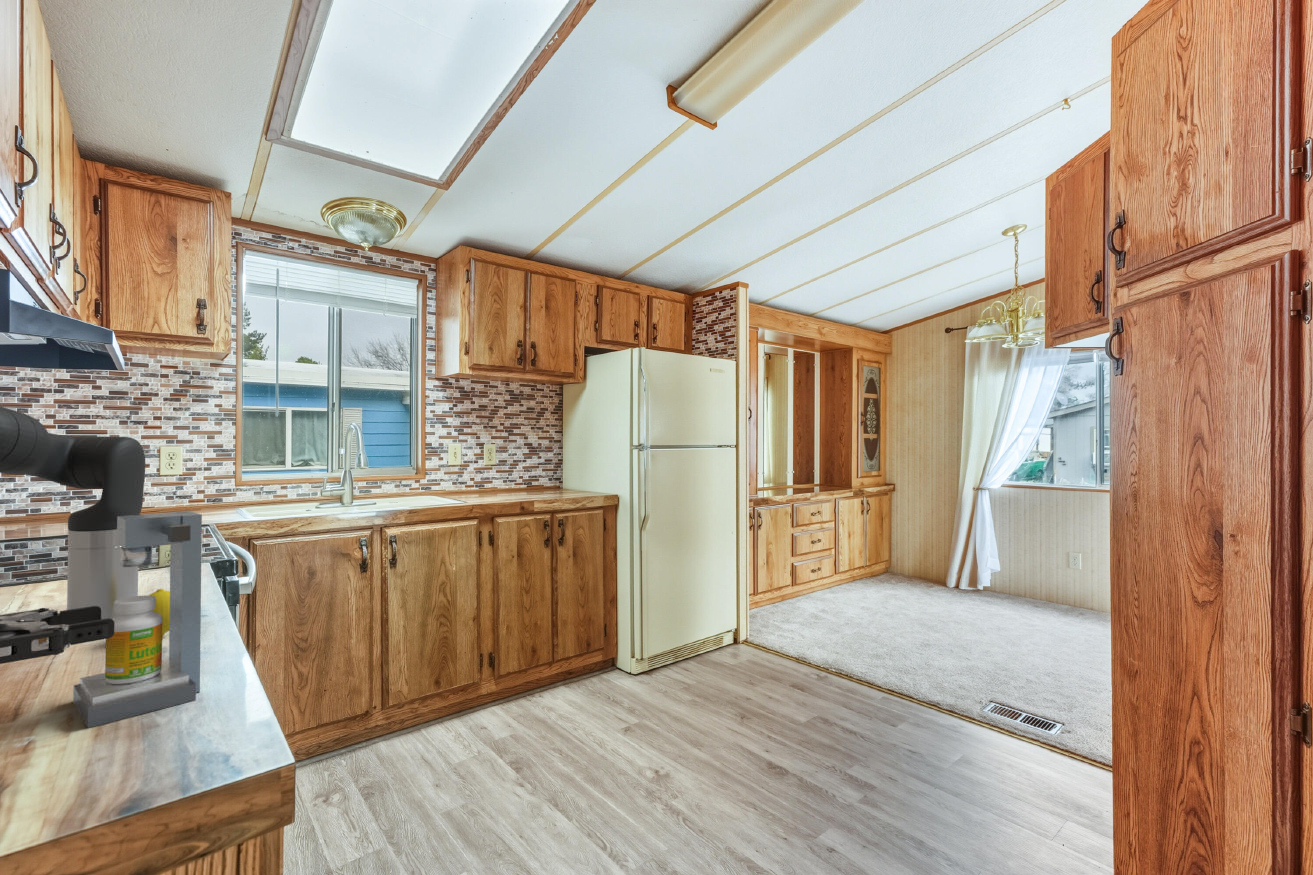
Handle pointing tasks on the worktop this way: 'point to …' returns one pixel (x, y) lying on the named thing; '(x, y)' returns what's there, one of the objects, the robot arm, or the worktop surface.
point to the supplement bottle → (134, 641)
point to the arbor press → (183, 665)
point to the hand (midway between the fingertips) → (106, 620)
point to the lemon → (163, 608)
